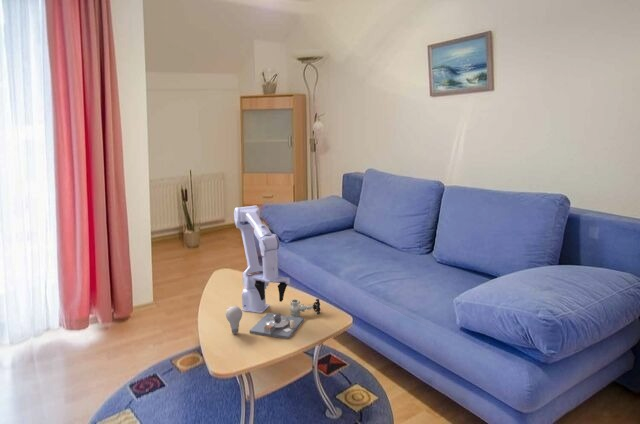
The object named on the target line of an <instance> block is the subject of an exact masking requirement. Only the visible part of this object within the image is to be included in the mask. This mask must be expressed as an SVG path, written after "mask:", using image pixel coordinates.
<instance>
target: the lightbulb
mask: <svg viewBox="0 0 640 424" xmlns="http://www.w3.org/2000/svg"><path fill="white" fill-rule="evenodd" d="M242 317H243V311H242V308H240V307H239V306H236V305H231V306H230V307H228V308H227V309H226V312H225V318H226V320H227V321H228V323H229V326H230V328H231V329H230V330H231V333H232V334H233V335H237V334H238V333H239V328H240V321H241V319H242Z"/></svg>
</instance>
